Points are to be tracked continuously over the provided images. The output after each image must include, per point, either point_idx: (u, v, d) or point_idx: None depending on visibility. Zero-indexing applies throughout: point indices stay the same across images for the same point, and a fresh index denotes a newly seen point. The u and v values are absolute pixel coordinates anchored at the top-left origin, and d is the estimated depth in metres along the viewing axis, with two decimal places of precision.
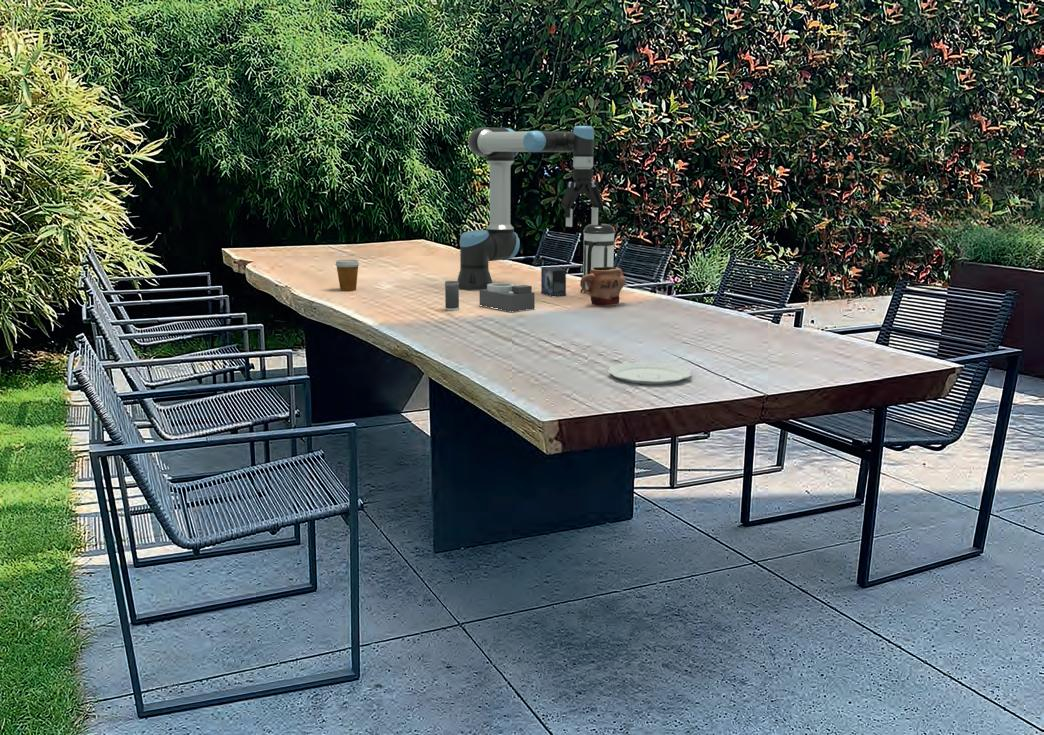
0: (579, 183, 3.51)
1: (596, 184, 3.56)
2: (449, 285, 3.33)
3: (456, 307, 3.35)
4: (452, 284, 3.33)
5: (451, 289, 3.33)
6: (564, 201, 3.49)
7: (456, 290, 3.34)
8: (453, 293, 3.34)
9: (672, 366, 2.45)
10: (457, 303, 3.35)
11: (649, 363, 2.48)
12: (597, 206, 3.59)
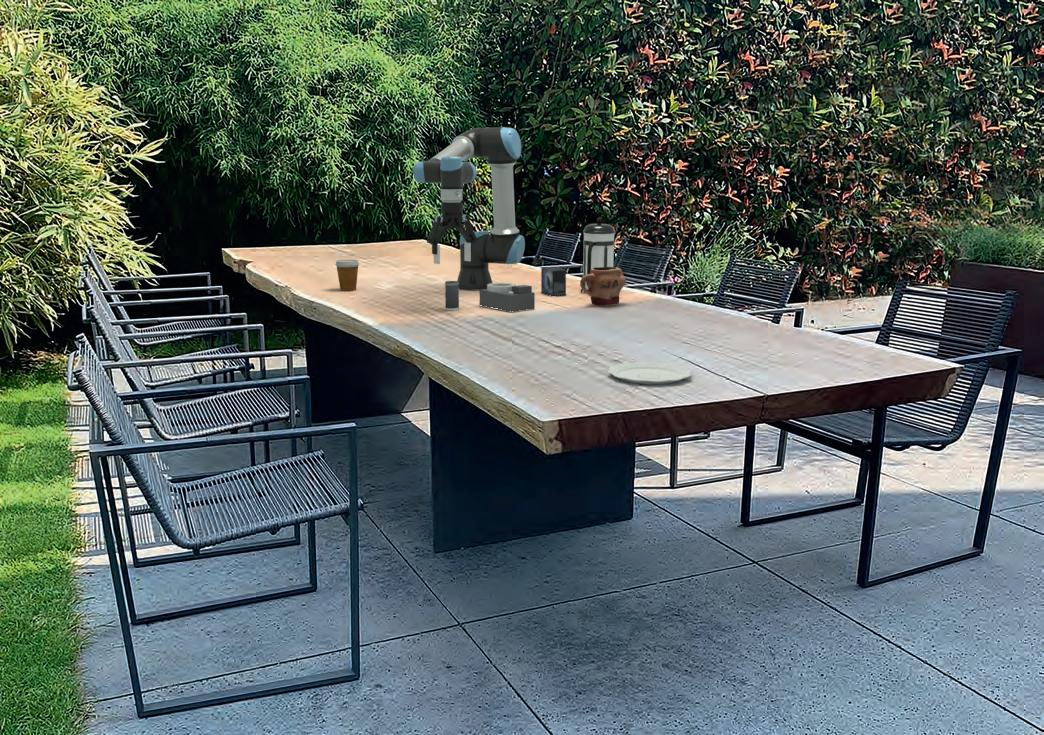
0: (447, 217, 3.27)
1: (467, 218, 3.33)
2: (449, 285, 3.33)
3: (456, 307, 3.35)
4: (452, 284, 3.33)
5: (451, 289, 3.33)
6: (430, 237, 3.25)
7: (456, 290, 3.34)
8: (453, 293, 3.34)
9: (672, 366, 2.45)
10: (457, 303, 3.35)
11: (648, 363, 2.48)
12: (469, 241, 3.36)
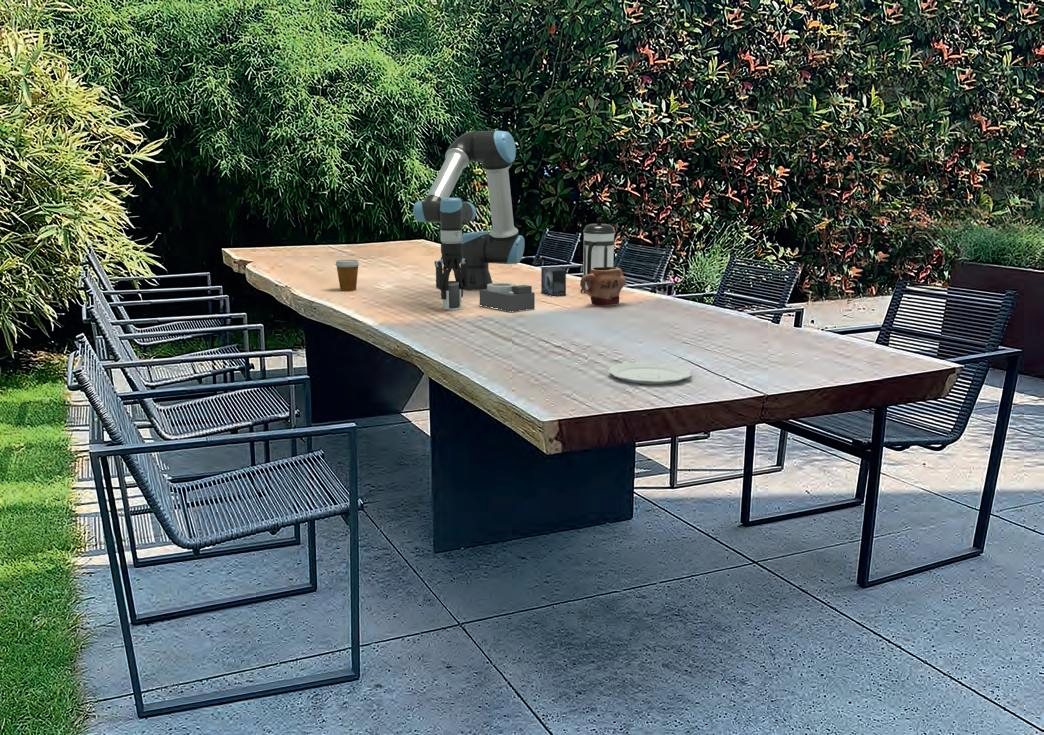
0: (446, 258, 3.30)
1: (466, 262, 3.36)
2: (449, 285, 3.33)
3: (456, 307, 3.35)
4: (452, 284, 3.33)
5: (451, 289, 3.33)
6: (438, 283, 3.31)
7: (456, 290, 3.34)
8: (453, 293, 3.34)
9: (672, 366, 2.45)
10: (457, 303, 3.35)
11: (648, 363, 2.48)
12: (460, 286, 3.37)
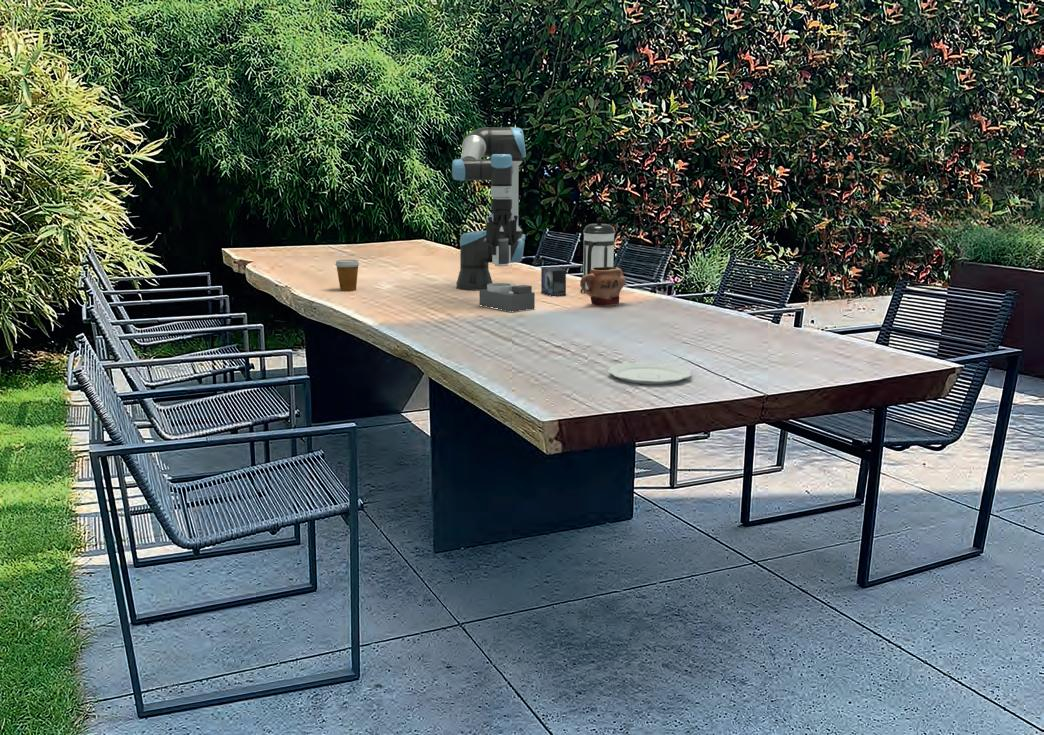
0: (497, 214, 3.34)
1: (515, 218, 3.40)
2: (499, 241, 3.37)
3: (506, 263, 3.39)
4: (502, 240, 3.36)
5: (501, 245, 3.37)
6: (488, 239, 3.35)
7: (506, 246, 3.38)
8: (503, 249, 3.37)
9: (672, 366, 2.45)
10: (507, 259, 3.39)
11: (648, 363, 2.48)
12: (509, 243, 3.40)
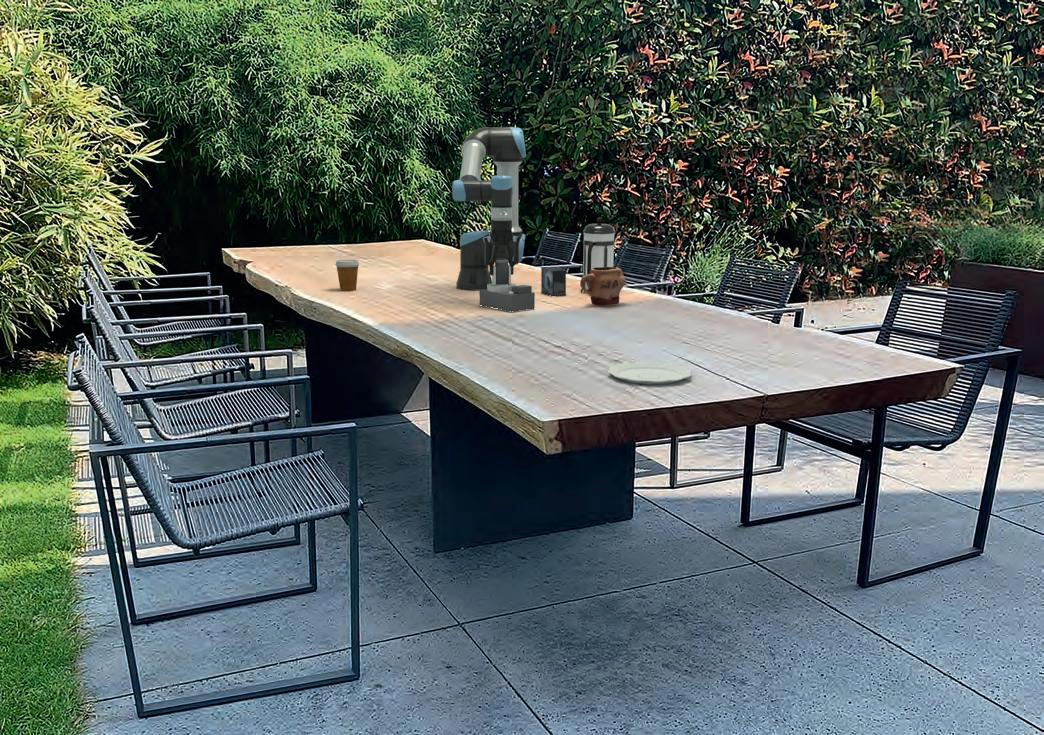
0: (494, 234, 3.37)
1: (517, 239, 3.39)
2: (497, 261, 3.39)
3: (503, 284, 3.40)
4: (499, 261, 3.38)
5: (498, 266, 3.39)
6: (485, 259, 3.39)
7: (503, 267, 3.39)
8: (500, 270, 3.39)
9: (672, 366, 2.45)
10: (504, 280, 3.40)
11: (648, 363, 2.48)
12: (510, 264, 3.41)
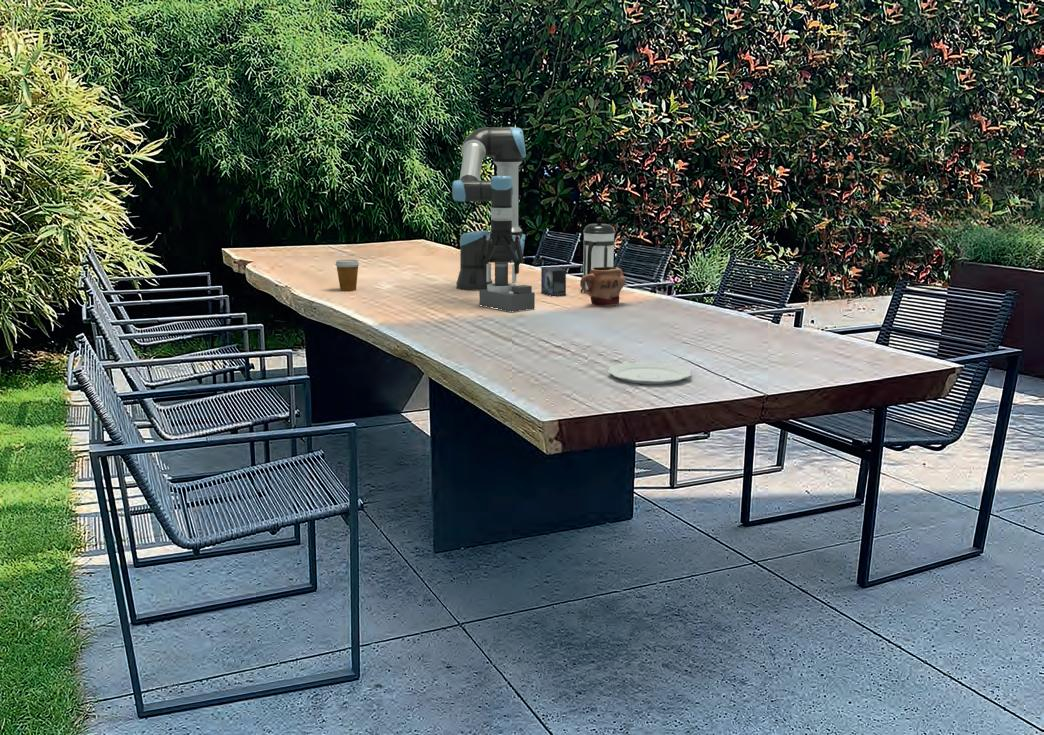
0: (492, 234, 3.38)
1: (516, 239, 3.36)
2: (495, 265, 3.40)
3: None
4: (496, 265, 3.39)
5: (495, 270, 3.40)
6: None
7: (499, 271, 3.39)
8: (496, 274, 3.40)
9: (672, 366, 2.45)
10: (501, 284, 3.40)
11: (648, 363, 2.48)
12: (514, 263, 3.38)
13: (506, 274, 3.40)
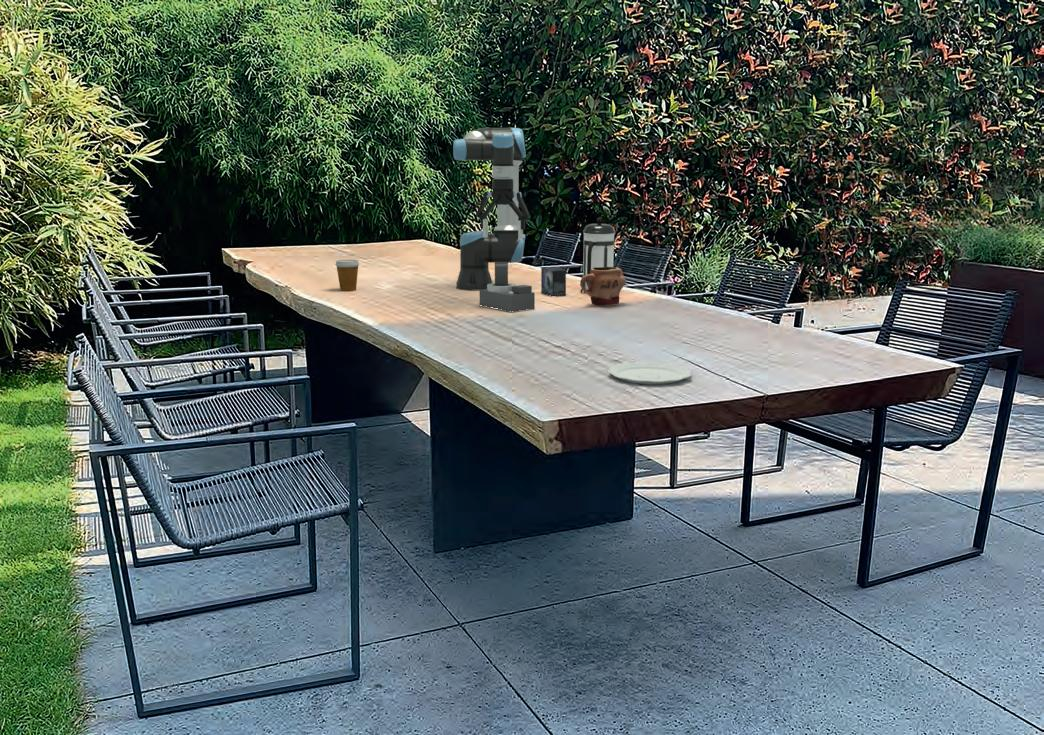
0: (494, 193, 3.37)
1: (517, 195, 3.34)
2: None
3: None
4: (496, 264, 3.39)
5: (495, 270, 3.40)
6: None
7: (499, 271, 3.39)
8: (496, 273, 3.40)
9: (671, 366, 2.45)
10: (501, 284, 3.40)
11: (648, 363, 2.48)
12: (520, 219, 3.36)
13: (506, 274, 3.40)
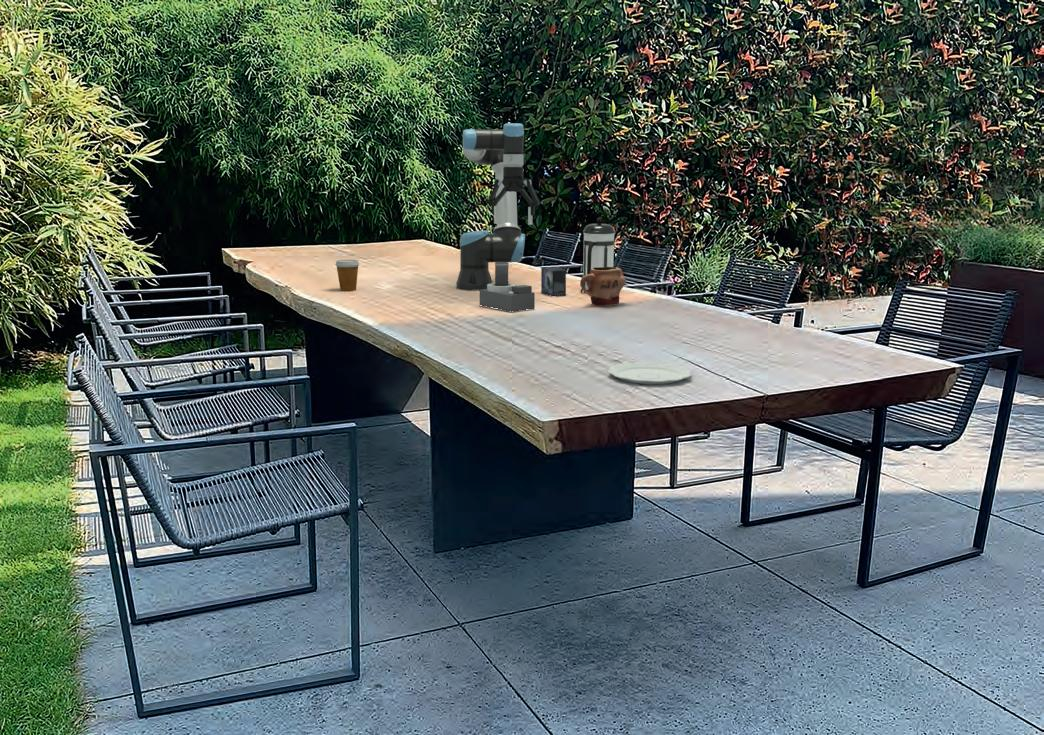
0: (505, 181, 3.50)
1: (527, 183, 3.48)
2: (495, 265, 3.40)
3: None
4: (496, 264, 3.39)
5: (495, 269, 3.40)
6: None
7: (500, 271, 3.39)
8: (497, 273, 3.40)
9: (671, 366, 2.45)
10: (501, 284, 3.40)
11: (648, 363, 2.48)
12: (530, 205, 3.49)
13: (506, 274, 3.40)
